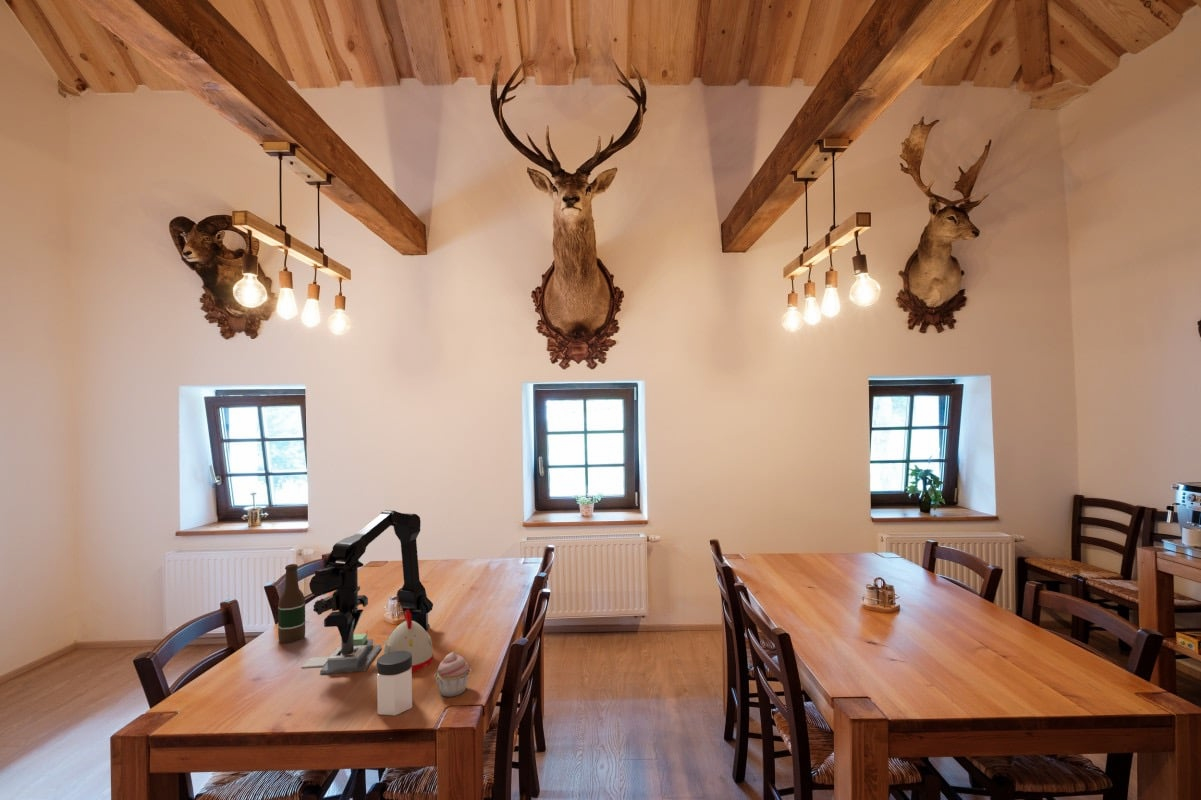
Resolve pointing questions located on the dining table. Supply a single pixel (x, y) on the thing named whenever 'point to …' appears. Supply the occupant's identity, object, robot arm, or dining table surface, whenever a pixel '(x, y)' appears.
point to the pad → (316, 662)
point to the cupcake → (452, 675)
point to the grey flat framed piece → (351, 659)
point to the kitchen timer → (411, 642)
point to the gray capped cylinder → (348, 644)
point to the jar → (394, 683)
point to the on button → (360, 639)
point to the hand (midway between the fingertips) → (347, 640)
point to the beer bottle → (291, 609)
